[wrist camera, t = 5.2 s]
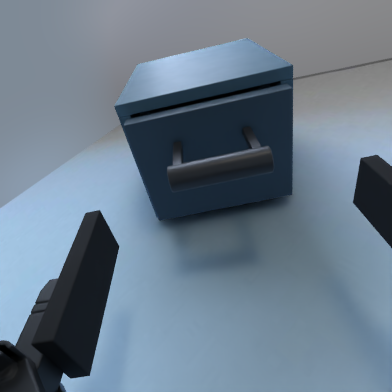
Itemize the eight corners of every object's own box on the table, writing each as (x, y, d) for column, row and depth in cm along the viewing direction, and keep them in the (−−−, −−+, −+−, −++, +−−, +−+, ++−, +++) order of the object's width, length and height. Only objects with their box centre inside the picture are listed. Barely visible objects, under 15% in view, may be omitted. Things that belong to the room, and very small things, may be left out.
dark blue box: (292, 190, 25) (293, 64, 19) (156, 217, 26) (113, 105, 20) (254, 128, 37) (247, 37, 31) (162, 147, 38) (137, 64, 32)
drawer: (318, 238, 19) (328, 115, 14) (155, 268, 20) (107, 162, 15) (254, 130, 34) (248, 52, 29) (164, 150, 35) (142, 77, 30)
